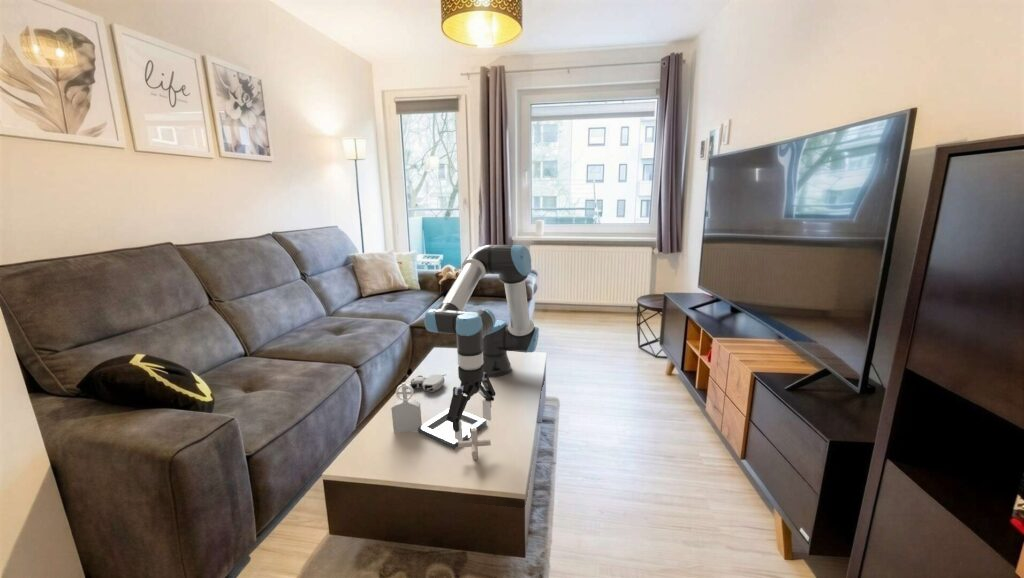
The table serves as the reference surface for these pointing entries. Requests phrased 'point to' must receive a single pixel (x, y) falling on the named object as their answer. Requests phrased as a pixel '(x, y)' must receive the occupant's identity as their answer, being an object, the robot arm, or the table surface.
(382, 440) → the table surface
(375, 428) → the table surface
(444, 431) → the square metal tray
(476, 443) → the pipe connector
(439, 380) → the robot toy
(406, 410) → the gravestone
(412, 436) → the table surface
